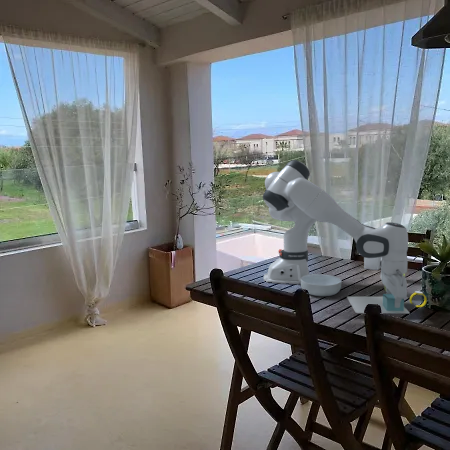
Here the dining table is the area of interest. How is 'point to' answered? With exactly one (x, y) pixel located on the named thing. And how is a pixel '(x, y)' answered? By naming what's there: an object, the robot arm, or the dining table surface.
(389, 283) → the robot arm
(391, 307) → the teal square box
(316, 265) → the dining table surface
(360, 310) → the post base
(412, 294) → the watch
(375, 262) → the medicine bottle
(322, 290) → the cereal bowl
